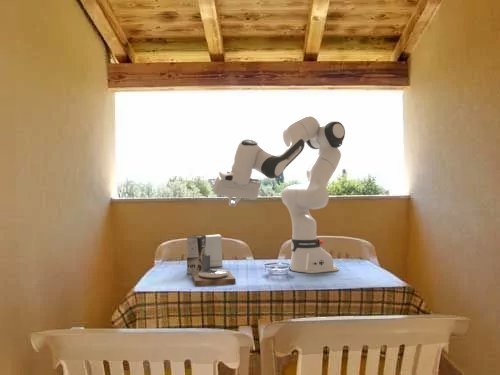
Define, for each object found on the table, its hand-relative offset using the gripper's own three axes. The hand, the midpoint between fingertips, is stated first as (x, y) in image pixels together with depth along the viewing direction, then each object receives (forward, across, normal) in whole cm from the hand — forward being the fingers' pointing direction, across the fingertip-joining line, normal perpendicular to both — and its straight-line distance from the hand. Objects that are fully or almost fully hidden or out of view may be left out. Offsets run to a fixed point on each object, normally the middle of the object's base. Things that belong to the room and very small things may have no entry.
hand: (231, 205), depth 197 cm
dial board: (+26, +7, +20) cm, 34 cm away
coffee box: (+34, +8, +2) cm, 35 cm away
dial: (+24, +7, +19) cm, 32 cm away
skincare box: (+36, -2, -8) cm, 37 cm away
